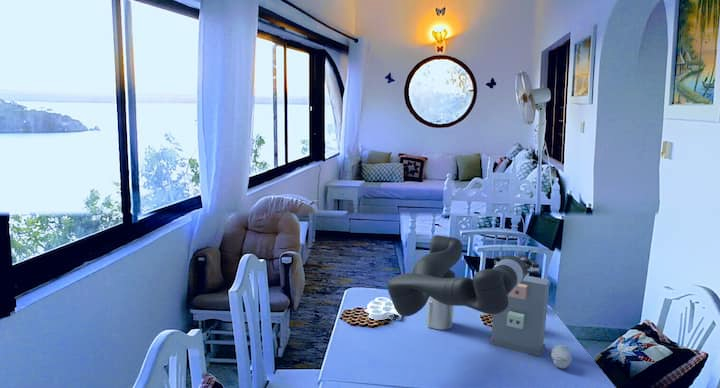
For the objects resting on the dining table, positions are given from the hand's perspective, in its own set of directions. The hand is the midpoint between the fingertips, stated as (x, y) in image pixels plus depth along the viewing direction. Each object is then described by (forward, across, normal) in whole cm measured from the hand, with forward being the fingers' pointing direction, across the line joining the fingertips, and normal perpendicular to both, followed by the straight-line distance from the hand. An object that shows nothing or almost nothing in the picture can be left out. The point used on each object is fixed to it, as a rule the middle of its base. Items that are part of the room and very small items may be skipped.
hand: (523, 258), depth 153 cm
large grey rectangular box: (+19, +4, +36) cm, 41 cm away
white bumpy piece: (+18, +54, +37) cm, 68 cm away
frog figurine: (+12, -12, +36) cm, 40 cm away
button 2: (+14, +4, +27) cm, 31 cm away
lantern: (+54, +17, +36) cm, 67 cm away
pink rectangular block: (+14, +4, +17) cm, 22 cm away
